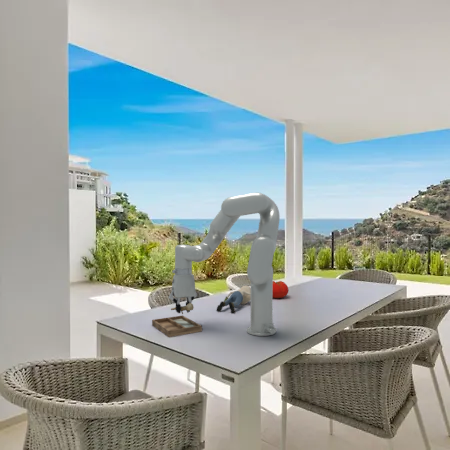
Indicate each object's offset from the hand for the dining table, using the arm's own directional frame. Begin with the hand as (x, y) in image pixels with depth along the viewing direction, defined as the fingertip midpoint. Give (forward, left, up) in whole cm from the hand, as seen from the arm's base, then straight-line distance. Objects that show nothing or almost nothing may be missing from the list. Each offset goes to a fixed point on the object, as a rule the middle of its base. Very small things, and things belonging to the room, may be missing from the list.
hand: (183, 311), depth 172 cm
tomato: (+29, -77, -7) cm, 83 cm away
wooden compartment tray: (0, +3, -7) cm, 8 cm away
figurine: (+1, 0, -1) cm, 1 cm away
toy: (+20, -43, -8) cm, 48 cm away
